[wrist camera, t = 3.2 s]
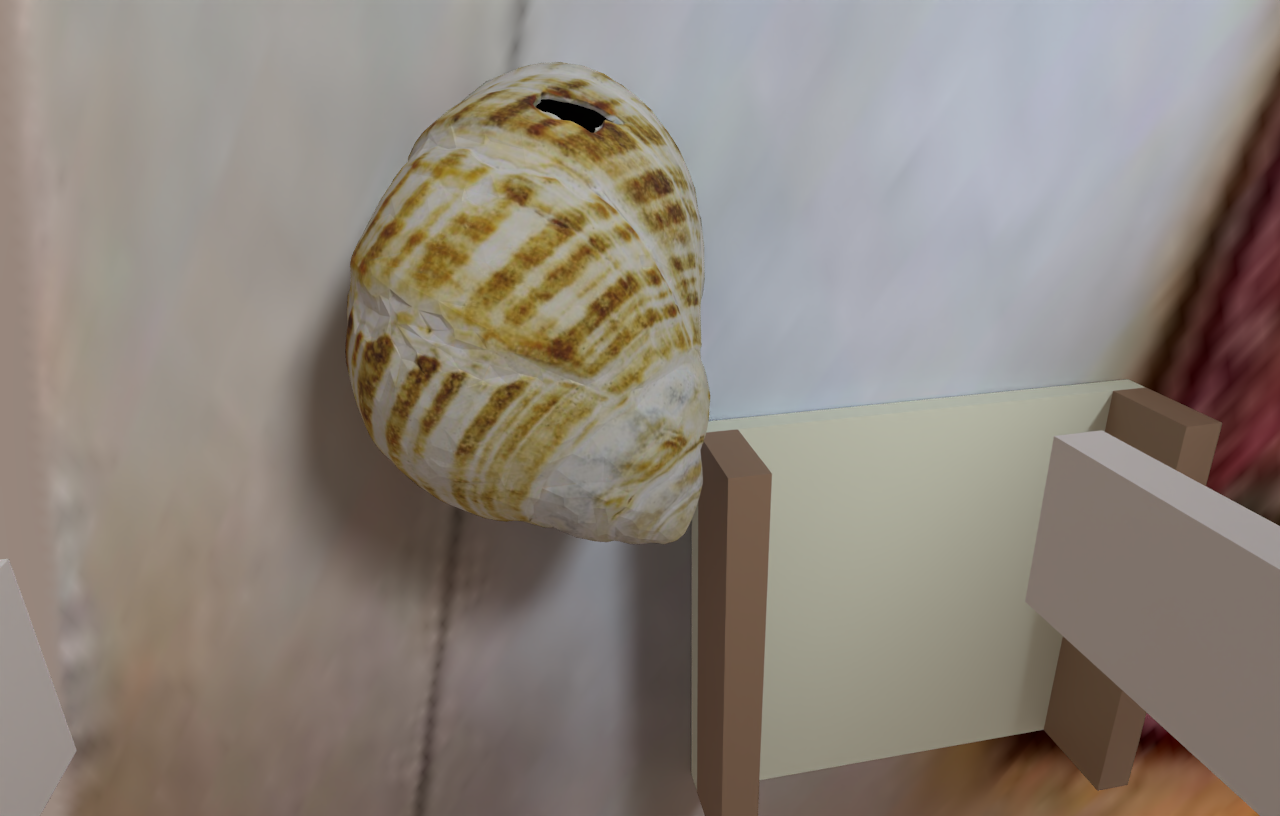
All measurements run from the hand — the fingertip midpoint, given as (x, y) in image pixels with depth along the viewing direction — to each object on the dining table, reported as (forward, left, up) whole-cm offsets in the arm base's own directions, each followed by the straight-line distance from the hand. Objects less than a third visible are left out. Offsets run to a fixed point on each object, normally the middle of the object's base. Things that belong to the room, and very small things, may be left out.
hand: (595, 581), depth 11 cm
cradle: (+11, +12, -13) cm, 21 cm away
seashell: (0, +1, -14) cm, 14 cm away
